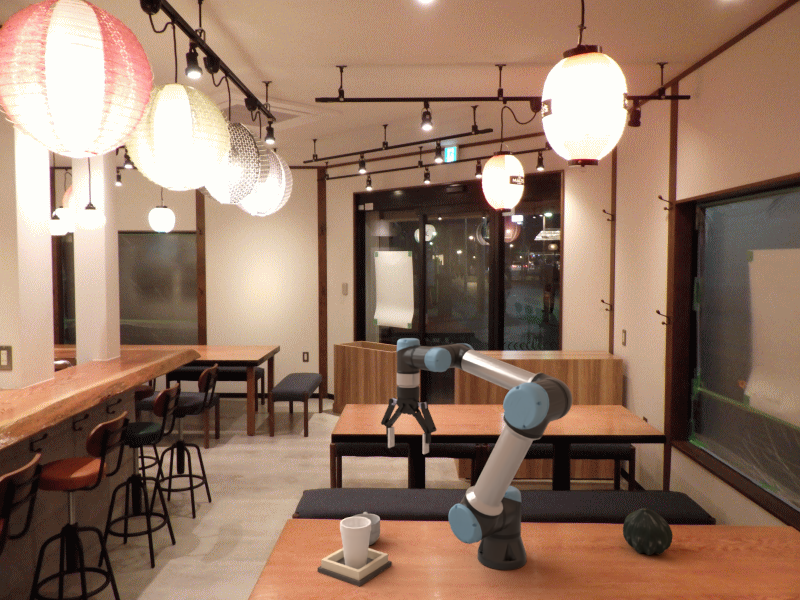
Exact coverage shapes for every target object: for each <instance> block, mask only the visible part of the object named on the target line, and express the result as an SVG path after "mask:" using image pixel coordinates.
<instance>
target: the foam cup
mask: <svg viewBox="0 0 800 600" xmlns="http://www.w3.org/2000/svg"><path fill="white" fill-rule="evenodd" d="M339 532H340V537H341V543H342V548H343V552H344V559H345V565H346V566H349V567H352V568H355V569H360V568H362V567H363V566H365V565H366V563H367V555H368V548H369V546H370V545H369V539H370V532H371V521H370V519H368V518H365V517H352V516H350V517H345V518H344V519H341V520H340V522H339Z"/></svg>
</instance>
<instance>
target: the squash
mask: <svg viewBox="0 0 800 600" xmlns="http://www.w3.org/2000/svg"><path fill="white" fill-rule="evenodd" d="M622 535H623V538H624V541H625V542H626V543H627V544H628V545H629V547H631V548H633V549H634V550H635V552H636V553H638V554H643V553H644V554H645V555H647V556H651V555H653V554H655V555H662V554H663V553H664V552H666V551H667V550H668V549H669V547H671V544H672V541H673V536H674V535H673V530H672V528H671V526H670V525H669V523H668V522H667V521H666V519H664V517H663V516H662V515H660V514H659V513H657V512H656V511H654V510H652V509H649V508H646V507H643V508H639V509H637V510H634V511H632V512H630V513H629V514H627V516H626V517H625V518H624V522H623V526H622Z"/></svg>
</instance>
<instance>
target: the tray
mask: <svg viewBox="0 0 800 600" xmlns="http://www.w3.org/2000/svg"><path fill="white" fill-rule="evenodd" d="M320 562H321V563H320V566H318V567H317V572H318V573H320V574H323V575H326V576H329V577H331V578H335V579H337V580H341V581H342V582H346V583H348V584H351V585H354V586H357V587H361V586H363V585H365V584H366V583H367V582H369V581H370V580H372V579H374V578H375V577H376V576H378V575H380V574H381V573H382V572H384V571H386V570H387V569H389V568H390V567H392V566H393V562H392V560H389V554H388V553H386V552H382V551H380V550H376V549H373V548H369V547H368V555H367V563H366V565H365V566H363V567H362V568H360V569H355V568H352V567H349V566H346V565H345V559H344V552H343V547H341V548H340V549H337V550H336V551H334V552H332V553H331V554H329V555H327V556H325V557H323V558H322V559H321V560H320Z"/></svg>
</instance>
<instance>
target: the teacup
mask: <svg viewBox="0 0 800 600" xmlns="http://www.w3.org/2000/svg"><path fill="white" fill-rule="evenodd" d="M351 517H365V518H368V519H370V521H371V532H370V539H369V546H371V545H373V544H376V542H377V541H378V539H379V538H380V535H381V518H380V516H379V515H377V514H374V513H368V511H363V512H362V513H359V514H354V515H353V516H351Z"/></svg>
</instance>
